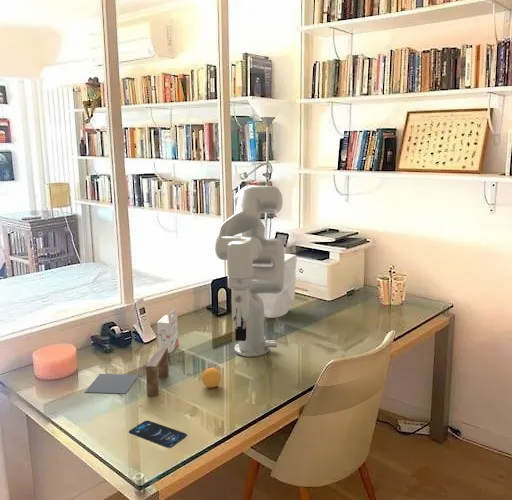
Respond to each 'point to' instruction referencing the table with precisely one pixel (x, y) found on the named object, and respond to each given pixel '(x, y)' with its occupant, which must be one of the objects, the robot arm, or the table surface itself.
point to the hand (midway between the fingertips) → (240, 339)
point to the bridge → (156, 370)
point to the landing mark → (112, 383)
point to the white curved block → (281, 301)
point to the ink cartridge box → (168, 331)
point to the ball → (211, 377)
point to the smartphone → (158, 434)
